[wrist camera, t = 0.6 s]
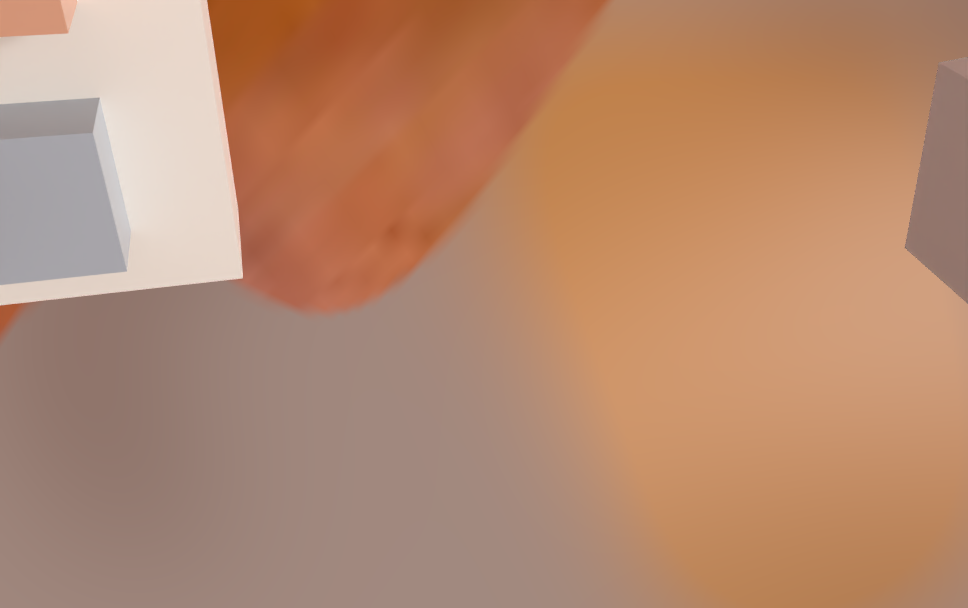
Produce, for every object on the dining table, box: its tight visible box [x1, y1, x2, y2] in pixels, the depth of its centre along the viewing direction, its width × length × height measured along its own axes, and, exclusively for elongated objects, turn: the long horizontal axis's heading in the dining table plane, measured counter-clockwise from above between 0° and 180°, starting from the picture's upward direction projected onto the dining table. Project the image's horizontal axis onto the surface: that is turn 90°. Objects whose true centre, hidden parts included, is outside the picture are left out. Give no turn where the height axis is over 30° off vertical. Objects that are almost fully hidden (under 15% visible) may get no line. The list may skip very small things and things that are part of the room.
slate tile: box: [0, 98, 131, 285], centre depth 29 cm, size 5×5×2 cm
